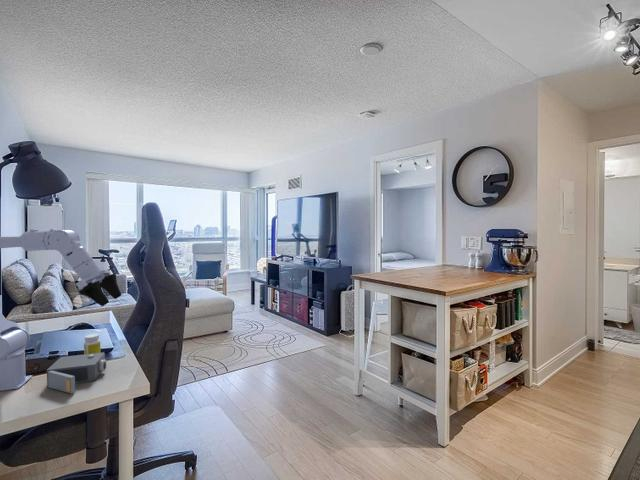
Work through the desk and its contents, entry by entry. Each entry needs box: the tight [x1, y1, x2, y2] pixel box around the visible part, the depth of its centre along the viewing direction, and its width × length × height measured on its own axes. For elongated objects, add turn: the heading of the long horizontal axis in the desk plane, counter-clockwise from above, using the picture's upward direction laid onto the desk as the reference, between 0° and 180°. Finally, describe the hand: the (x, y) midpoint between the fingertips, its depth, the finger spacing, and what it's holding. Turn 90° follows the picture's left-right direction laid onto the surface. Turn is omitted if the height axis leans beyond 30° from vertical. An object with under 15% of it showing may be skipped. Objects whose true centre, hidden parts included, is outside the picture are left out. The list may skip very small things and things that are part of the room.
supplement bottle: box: [83, 333, 102, 355], centre depth 116 cm, size 5×5×8 cm
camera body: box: [46, 351, 107, 388], centre depth 103 cm, size 13×10×6 cm
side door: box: [48, 371, 76, 394], centre depth 93 cm, size 10×2×4 cm, turn 69°
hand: (112, 300), depth 102 cm, fingers open, 7 cm apart
